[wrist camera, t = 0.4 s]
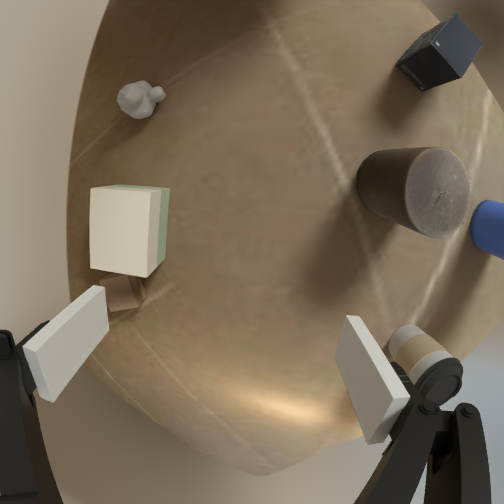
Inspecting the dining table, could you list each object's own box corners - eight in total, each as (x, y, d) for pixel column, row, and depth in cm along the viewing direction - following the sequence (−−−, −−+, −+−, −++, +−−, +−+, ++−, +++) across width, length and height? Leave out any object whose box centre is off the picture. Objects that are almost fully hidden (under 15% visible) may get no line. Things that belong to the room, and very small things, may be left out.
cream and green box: (118, 184, 38) (90, 188, 30) (170, 188, 38) (150, 192, 30) (115, 251, 41) (90, 268, 33) (165, 258, 41) (146, 277, 33)
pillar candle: (344, 169, 37) (394, 172, 23) (396, 139, 36) (460, 131, 22) (374, 229, 40) (429, 260, 25) (423, 197, 38) (488, 214, 24)
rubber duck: (125, 92, 34) (100, 78, 27) (168, 80, 34) (149, 61, 26) (128, 126, 36) (102, 117, 28) (172, 114, 36) (153, 102, 28)
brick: (110, 271, 42) (98, 280, 38) (137, 265, 41) (126, 274, 37) (120, 300, 43) (110, 311, 39) (147, 296, 43) (138, 307, 39)
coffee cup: (375, 361, 46) (408, 419, 31) (392, 317, 43) (435, 369, 29) (415, 360, 46) (451, 411, 32) (432, 319, 44) (478, 364, 29)
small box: (423, 94, 34) (463, 80, 24) (394, 64, 33) (428, 41, 23) (448, 61, 32) (485, 44, 22) (422, 33, 31) (455, 10, 21)
